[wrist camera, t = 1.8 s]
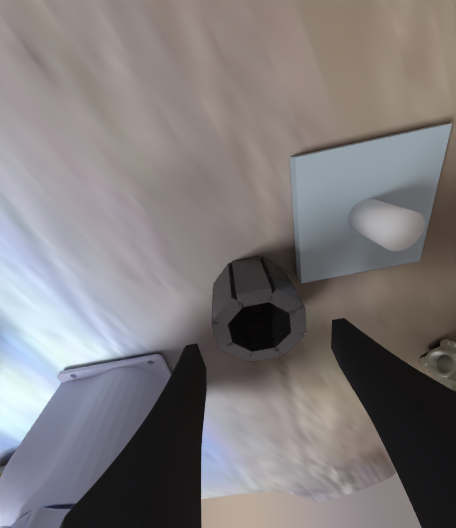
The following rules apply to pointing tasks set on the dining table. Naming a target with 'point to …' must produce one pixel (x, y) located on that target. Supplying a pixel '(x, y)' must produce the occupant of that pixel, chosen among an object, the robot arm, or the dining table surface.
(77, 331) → the dining table surface
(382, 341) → the dining table surface
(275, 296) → the ring
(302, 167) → the square plate with peg
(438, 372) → the pneumatic valve
